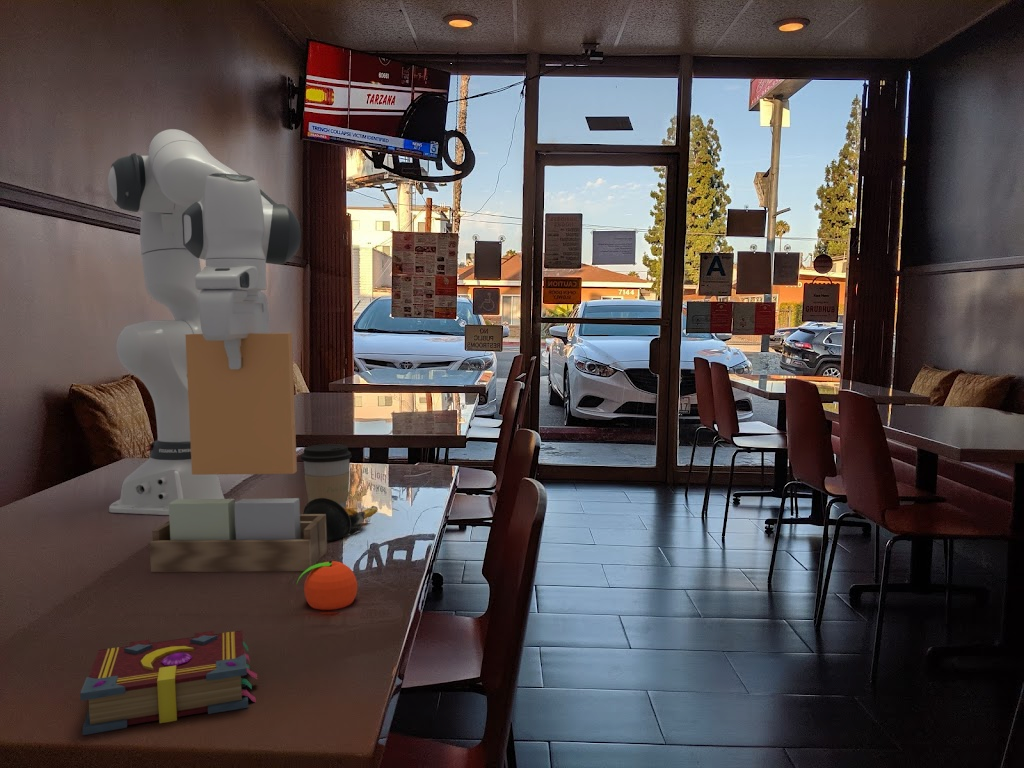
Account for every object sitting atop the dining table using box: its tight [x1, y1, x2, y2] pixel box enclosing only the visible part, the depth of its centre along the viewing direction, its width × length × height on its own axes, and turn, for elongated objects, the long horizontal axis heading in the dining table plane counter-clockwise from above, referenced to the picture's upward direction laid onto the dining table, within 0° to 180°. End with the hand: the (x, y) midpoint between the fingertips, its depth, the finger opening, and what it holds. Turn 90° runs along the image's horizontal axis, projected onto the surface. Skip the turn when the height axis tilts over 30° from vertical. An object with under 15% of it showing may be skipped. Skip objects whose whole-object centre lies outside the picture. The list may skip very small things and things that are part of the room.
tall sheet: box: [185, 332, 298, 475], centre depth 127 cm, size 16×2×22 cm, turn 89°
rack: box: [149, 513, 328, 573], centre depth 126 cm, size 24×10×8 cm, turn 89°
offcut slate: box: [234, 497, 301, 540], centre depth 124 cm, size 9×3×10 cm, turn 89°
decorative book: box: [80, 630, 258, 736], centre depth 85 cm, size 11×16×5 cm
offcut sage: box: [168, 498, 236, 540], centre depth 124 cm, size 9×3×10 cm, turn 89°
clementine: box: [296, 560, 358, 616], centre depth 107 cm, size 8×7×7 cm
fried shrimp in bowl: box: [302, 498, 378, 543], centre depth 144 cm, size 9×11×18 cm
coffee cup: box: [299, 443, 353, 508], centre depth 152 cm, size 9×9×15 cm
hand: (240, 368), depth 127 cm, fingers closed on tall sheet, 2 cm apart
